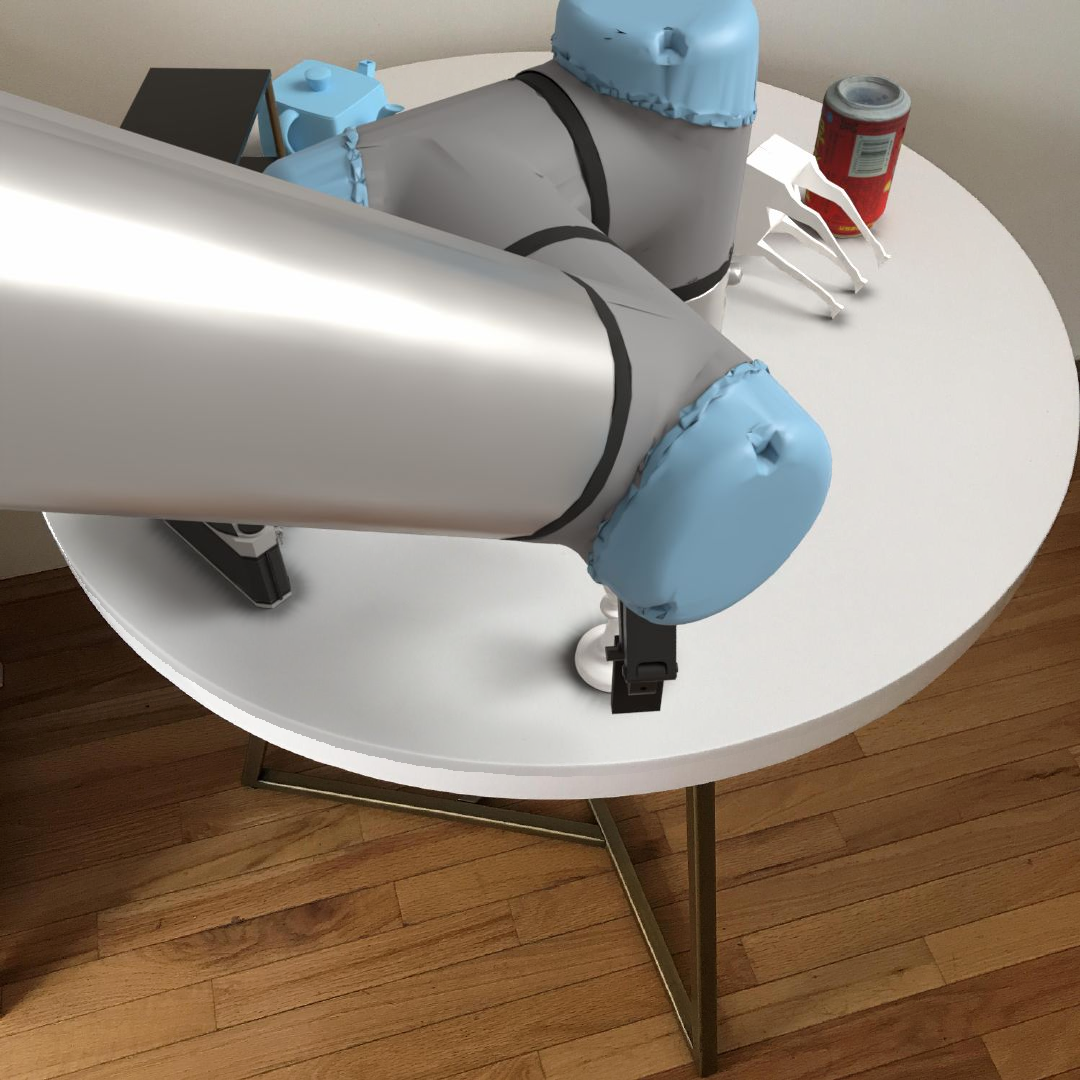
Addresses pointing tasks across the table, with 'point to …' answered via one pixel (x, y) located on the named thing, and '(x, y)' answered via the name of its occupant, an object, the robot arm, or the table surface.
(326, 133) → the teapot
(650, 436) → the robot arm
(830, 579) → the table surface
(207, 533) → the camera
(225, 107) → the rack
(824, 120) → the soda can
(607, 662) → the chess piece
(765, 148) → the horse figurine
